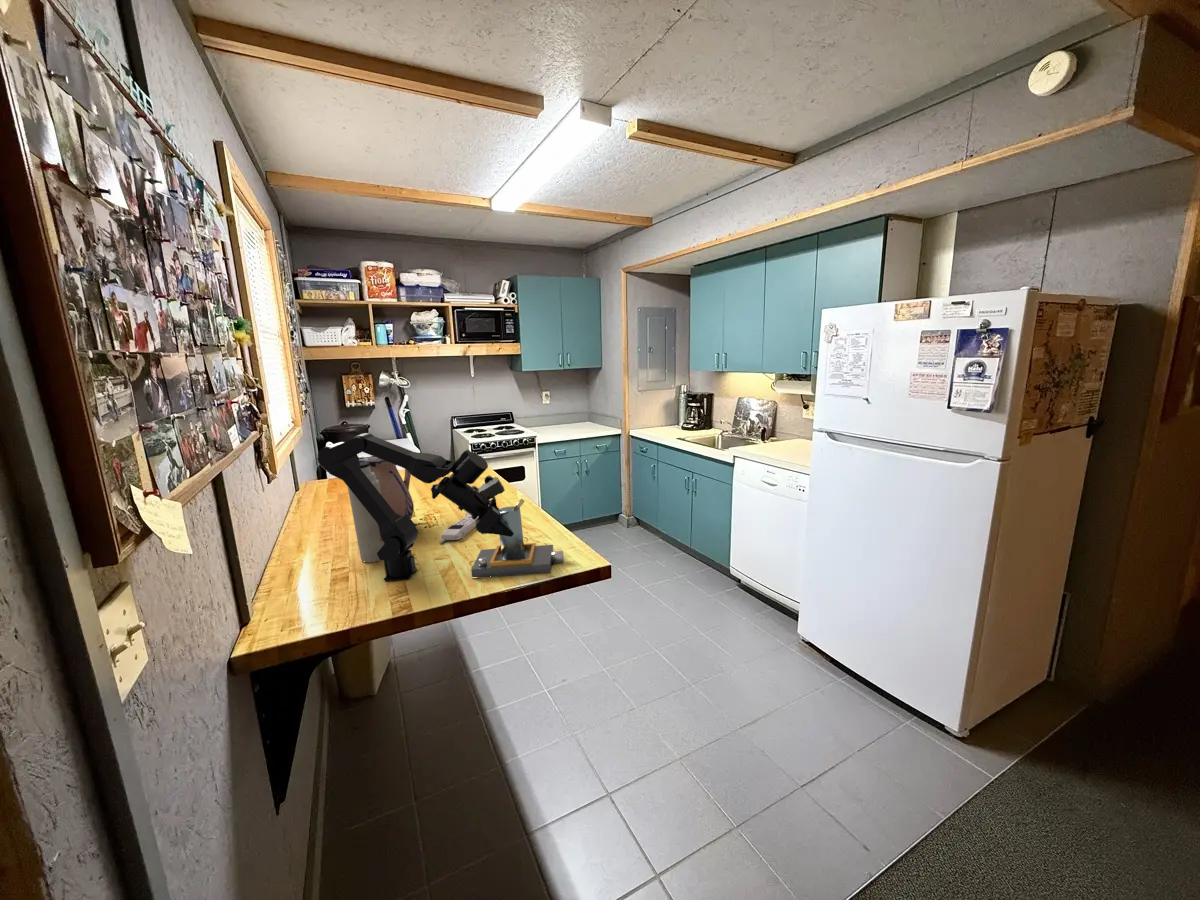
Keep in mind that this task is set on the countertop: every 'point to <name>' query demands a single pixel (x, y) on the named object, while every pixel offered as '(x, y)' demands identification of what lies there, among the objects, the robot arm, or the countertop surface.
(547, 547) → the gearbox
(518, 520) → the spout can
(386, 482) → the ceramic pitcher
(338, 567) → the countertop surface
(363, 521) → the thermos bottle
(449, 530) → the mobile phone
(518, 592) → the countertop surface
